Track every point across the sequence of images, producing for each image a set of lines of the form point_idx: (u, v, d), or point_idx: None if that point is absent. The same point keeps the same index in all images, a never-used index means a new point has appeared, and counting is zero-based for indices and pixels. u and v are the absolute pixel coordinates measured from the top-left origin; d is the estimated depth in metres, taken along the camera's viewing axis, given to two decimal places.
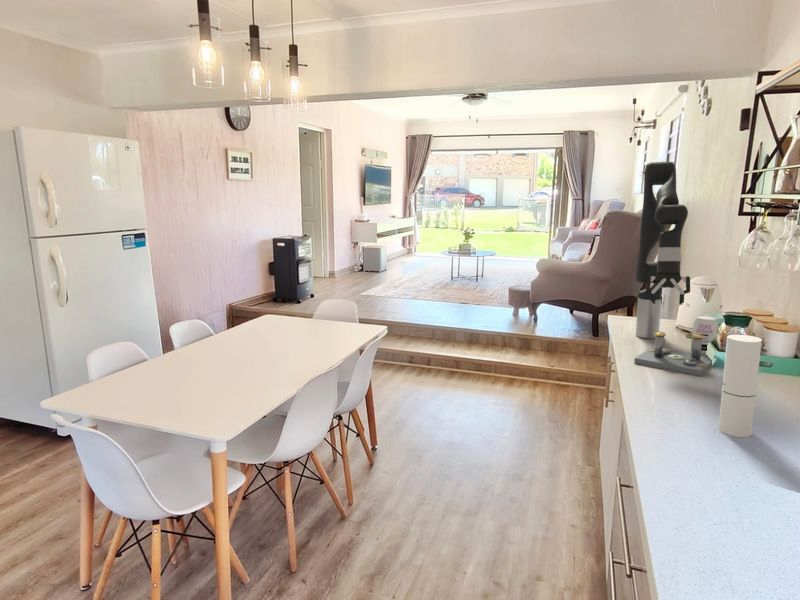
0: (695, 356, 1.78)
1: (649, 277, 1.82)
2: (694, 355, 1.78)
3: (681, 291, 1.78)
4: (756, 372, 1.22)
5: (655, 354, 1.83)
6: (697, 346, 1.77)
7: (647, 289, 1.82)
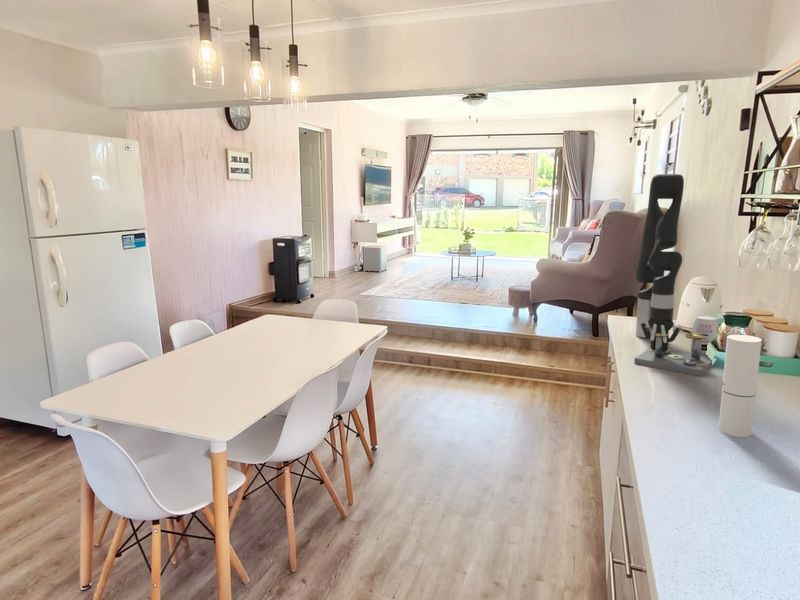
0: (695, 356, 1.78)
1: (642, 324, 1.85)
2: (694, 355, 1.78)
3: (664, 339, 1.80)
4: (756, 372, 1.22)
5: (655, 354, 1.83)
6: (697, 346, 1.77)
7: (646, 336, 1.85)
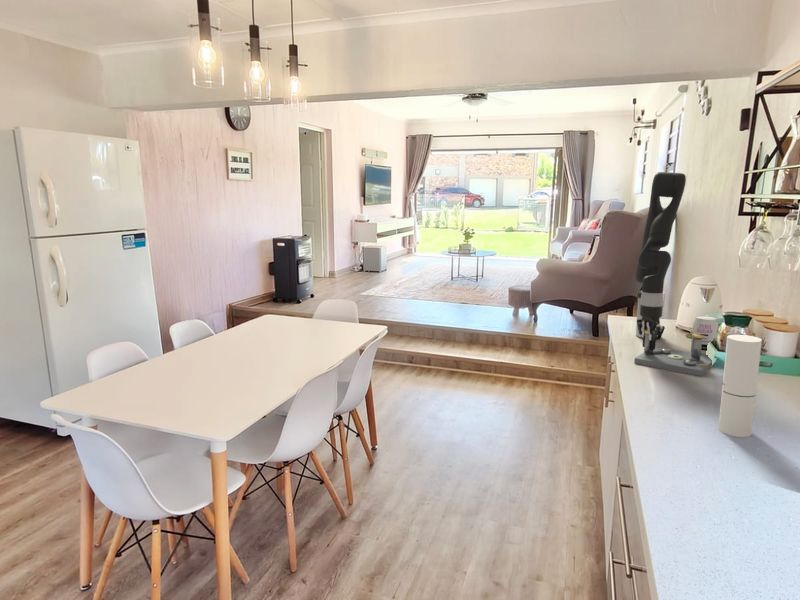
0: (695, 356, 1.78)
1: (637, 321, 1.91)
2: (694, 355, 1.78)
3: (649, 337, 1.84)
4: (756, 372, 1.22)
5: (644, 351, 1.88)
6: (697, 346, 1.77)
7: (639, 332, 1.90)
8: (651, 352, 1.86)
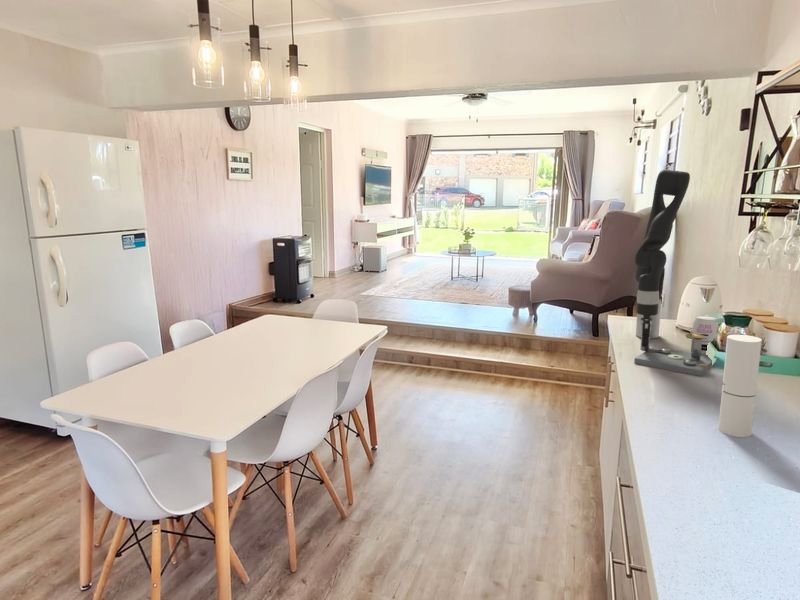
0: (695, 356, 1.78)
1: None
2: (694, 355, 1.78)
3: None
4: (756, 372, 1.22)
5: None
6: (697, 346, 1.77)
7: None
8: (645, 349, 1.90)
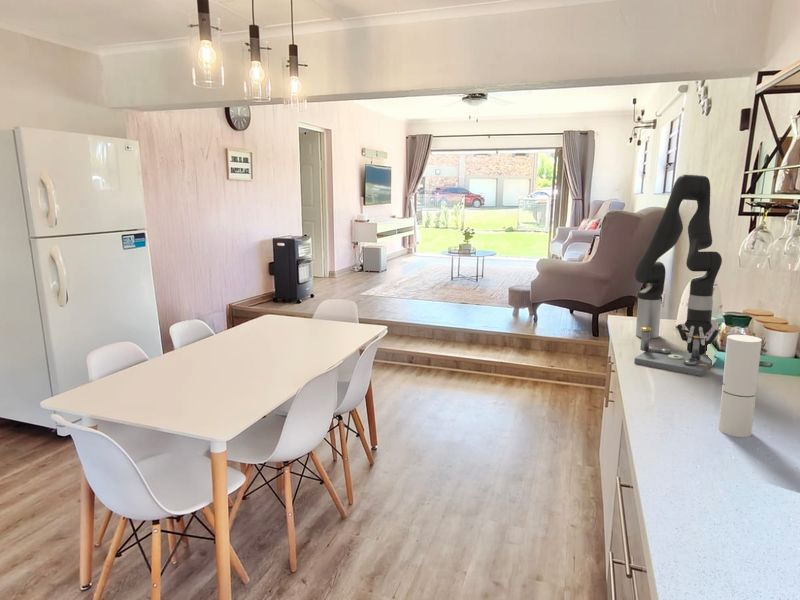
0: (695, 356, 1.78)
1: (679, 326, 1.81)
2: (694, 355, 1.78)
3: (702, 342, 1.76)
4: (756, 372, 1.22)
5: None
6: (697, 346, 1.77)
7: (683, 338, 1.80)
8: (645, 349, 1.90)
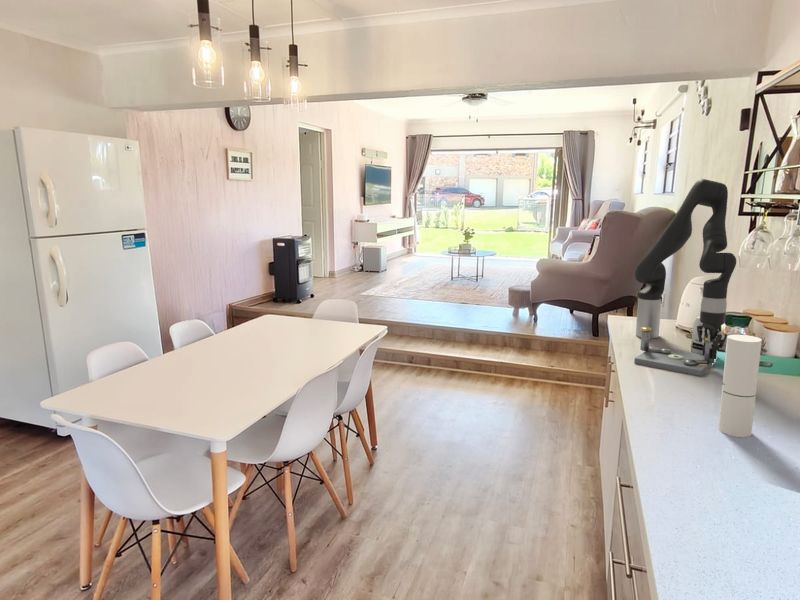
0: (705, 359, 1.75)
1: (697, 327, 1.79)
2: (704, 358, 1.75)
3: (710, 345, 1.72)
4: (756, 372, 1.22)
5: None
6: (706, 349, 1.74)
7: (699, 339, 1.78)
8: (645, 349, 1.90)
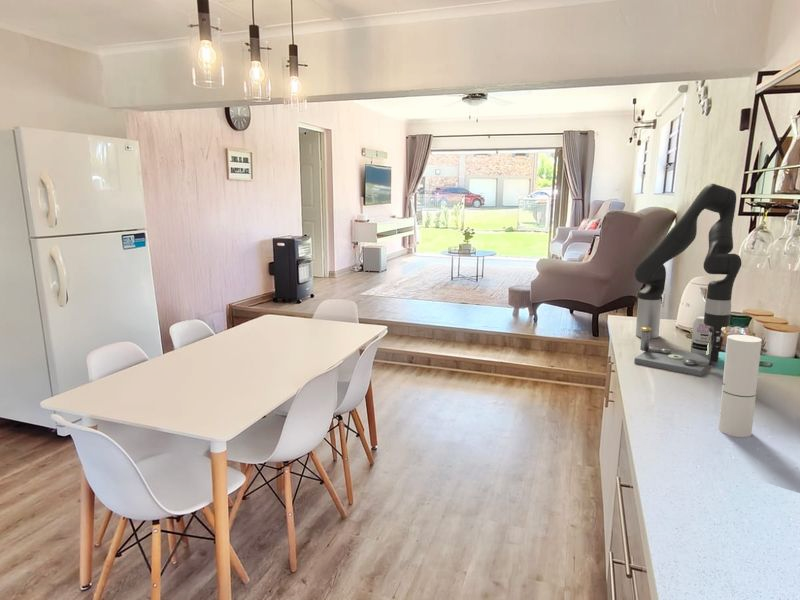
0: (708, 361, 1.72)
1: (709, 329, 1.76)
2: None
3: (711, 347, 1.69)
4: (756, 372, 1.22)
5: None
6: (709, 351, 1.71)
7: None
8: (645, 349, 1.90)
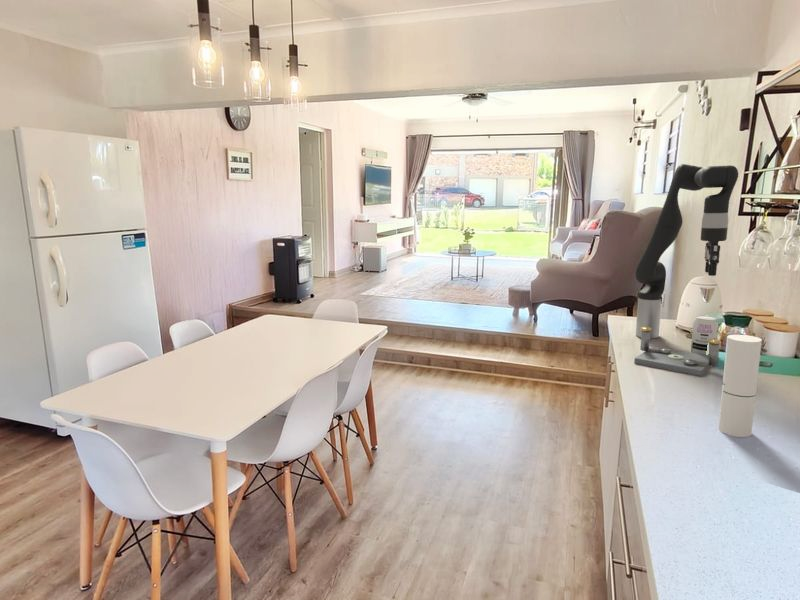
0: (708, 361, 1.72)
1: (706, 244, 1.74)
2: None
3: (709, 261, 1.65)
4: (756, 372, 1.22)
5: None
6: (709, 351, 1.71)
7: (705, 256, 1.75)
8: (645, 349, 1.90)
